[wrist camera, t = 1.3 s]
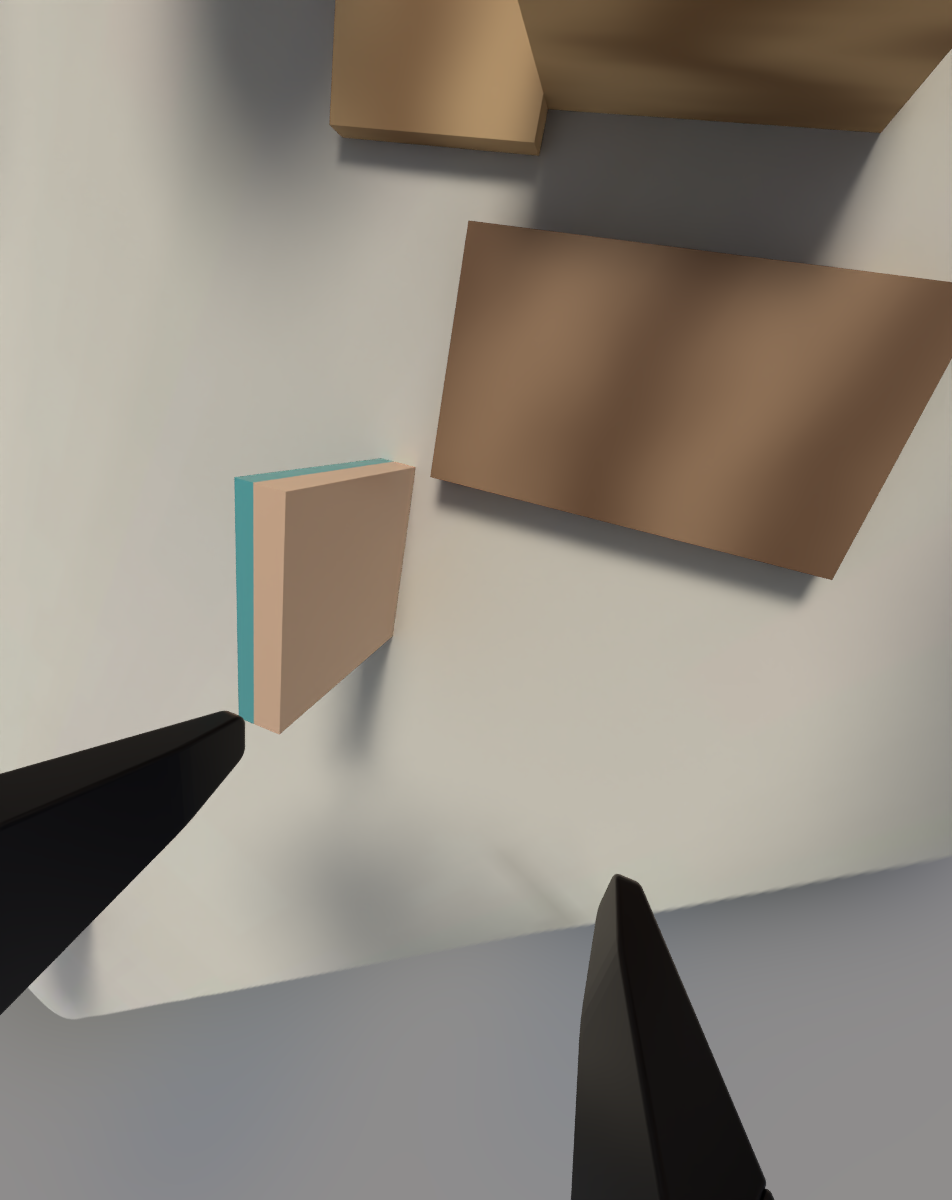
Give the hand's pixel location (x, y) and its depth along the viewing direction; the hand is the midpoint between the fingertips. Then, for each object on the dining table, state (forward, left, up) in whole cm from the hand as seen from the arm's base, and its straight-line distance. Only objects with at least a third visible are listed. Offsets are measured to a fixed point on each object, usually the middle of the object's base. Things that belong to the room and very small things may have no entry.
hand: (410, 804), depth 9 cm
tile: (+7, 0, -12) cm, 14 cm away
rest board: (-2, -8, -12) cm, 14 cm away
